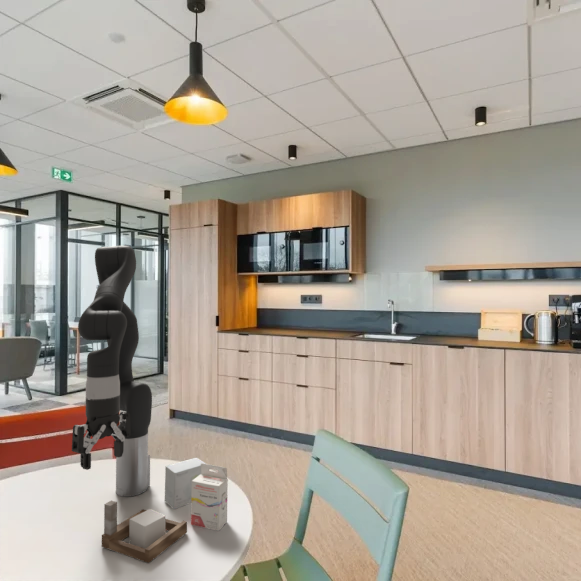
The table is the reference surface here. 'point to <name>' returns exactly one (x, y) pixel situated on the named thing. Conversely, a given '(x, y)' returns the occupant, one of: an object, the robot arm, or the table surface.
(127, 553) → the pull frame
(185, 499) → the skincare box
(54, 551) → the table surface
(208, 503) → the ink cartridge box
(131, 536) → the white cube
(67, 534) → the table surface
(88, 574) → the table surface
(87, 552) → the table surface
